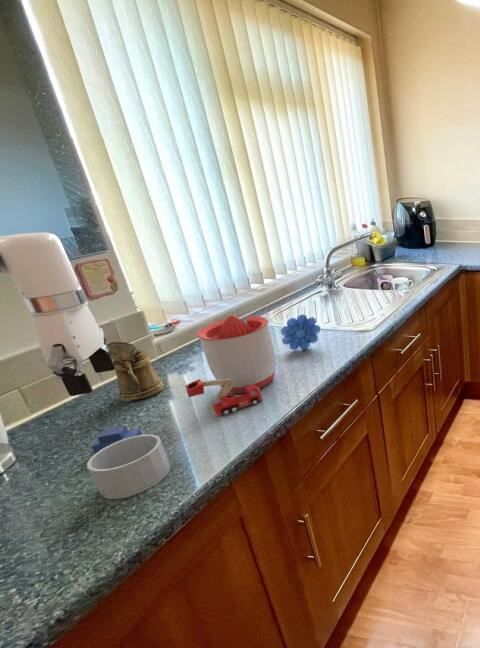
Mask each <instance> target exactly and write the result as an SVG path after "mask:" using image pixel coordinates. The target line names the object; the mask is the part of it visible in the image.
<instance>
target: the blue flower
mask: <svg viewBox="0 0 480 648" xmlns="http://www.w3.org/2000/svg"><path fill="white" fill-rule="evenodd" d="M320 332H321V326H320V325H318V324H317V319H316V318H315V317H314V316H310V317H307V315H306V314H304V313H301V314H299V315H297V316H296V318H295V317H290V318H289V319H287V321H286V325H285V326H283V327H282V328H281V330H280V333H281V335H282V336H283V337H282V339H281V342H282V344H283V345H285V346H288V345H289V349H291V350H292V351H297V350H298V349H299V348H300V349H301V350H307V349H308V348H309V347H310V345H311V344H315V343H317V342H318V340H319V336H318V334H320Z"/></svg>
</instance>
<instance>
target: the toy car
mask: <svg viewBox="0 0 480 648" xmlns="http://www.w3.org/2000/svg"><path fill="white" fill-rule="evenodd" d="M138 435H143V434H142V431H141V429H140V428H136V429H131V430H129V429H127V425H126V424H123V425H119V426H115V427H110V428H103V430H102V431H101V432H100V434H98V436H97V437H96V438H97V439H96V440H95V441H94V443H92V445H91V448H92V450H93V452H94V455H95V454H96V453H97V452H99V451H100V450H102V449H103V448H105V447H107V446H109V445H111V444H113V443H115V442H118V441H120V440H123V439H126V438H129V437H133V436H138Z"/></svg>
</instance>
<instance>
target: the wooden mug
mask: <svg viewBox="0 0 480 648" xmlns="http://www.w3.org/2000/svg"><path fill="white" fill-rule="evenodd" d="M106 346H107V347H108V348H109V351H108V352H109V354H110V356H111V358H112V360H113V363H114V365H115V367H116V368H115V369H114V370H113V371H115V374H116V378H117V383H118V389H119V392H118V396H119V398H120V401H122V402H136V401H141V400H145V399H149V398H151V397H153V396H156V395H157V394H159V393H161V392H162V391H163V390H164V389H165V385H164V384H163V381H162V380H161V379H160V378H159V376H158V373H157V372H156V371H155V369H154V368H153V366H152V364H151V359H150V358H149V355H147V354H146V353H145V352H144V350H141V349H137V347H136V346H135V345H134V344H133V343H130V342H129V343H128V342H120V341H111V342H110V343H107V344H106Z"/></svg>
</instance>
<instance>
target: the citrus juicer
mask: <svg viewBox="0 0 480 648" xmlns="http://www.w3.org/2000/svg"><path fill="white" fill-rule="evenodd" d="M196 336H197V338H199V340H200V343H201V346H202V349H203V350H202V351H203V353H204V356H205V360H206V362H207V365H208V368H209V371H210V372H211V373H212V375H213V377H214V380H221V379H226V378H230V379H233V380H235V382H236V383H235V384H234V386H233V387H232V389H231V390H230V392H229V394H242V393H243V394H244V393H246V390H245V386H246V385H256V386H258V387H259V389H260V388H264V387H266V386H267V385H268V384H270V383H271V382H272V381H273V380H274V377H275V373H276V352H275V347H274V343H273V340H272V336H271V333H270V328H269V320H268V319H267V318H266V317H264V316H260V315H259V316H258V315H257V316H256V315H252V316H251V315H250V316H247V318H246V322H245V320H243V319H241V318H239V317H237V316H234V315H228V317H227V318H225V319H223V320H219V321H216V322H212V323H210V324H208V325H205V326H203V327H202V328H201V329H199V330H198V331H197V335H196ZM219 386H220V387H221V388H222V386H223V384H221V385H219Z"/></svg>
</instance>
